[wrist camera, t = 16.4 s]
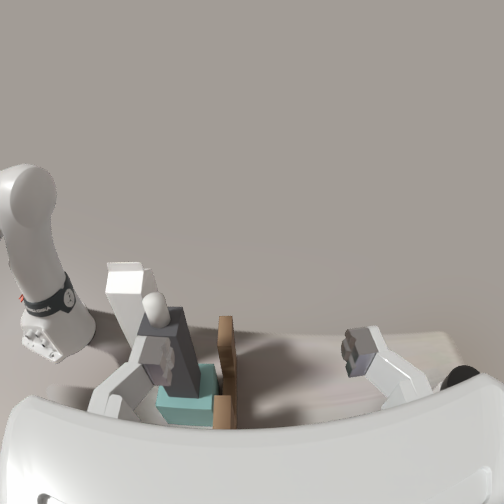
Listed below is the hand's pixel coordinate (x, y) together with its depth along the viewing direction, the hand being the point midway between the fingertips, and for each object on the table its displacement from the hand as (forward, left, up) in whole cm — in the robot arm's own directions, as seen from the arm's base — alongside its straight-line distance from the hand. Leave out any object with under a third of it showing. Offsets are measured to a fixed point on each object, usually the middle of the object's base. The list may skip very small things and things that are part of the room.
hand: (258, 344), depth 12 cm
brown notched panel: (-4, +12, -32) cm, 34 cm away
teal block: (-10, +12, -32) cm, 36 cm away
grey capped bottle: (-10, +12, -25) cm, 30 cm away
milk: (-18, +22, -32) cm, 43 cm away
